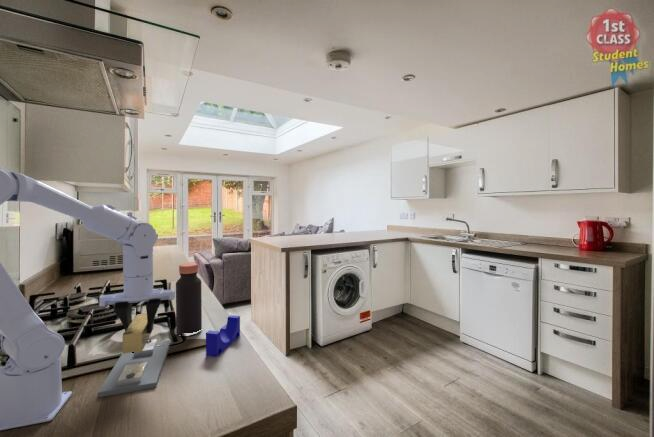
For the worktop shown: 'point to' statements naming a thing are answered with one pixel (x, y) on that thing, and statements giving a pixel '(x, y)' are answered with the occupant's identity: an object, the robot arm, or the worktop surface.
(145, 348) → the mounting blocks
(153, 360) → the slate board
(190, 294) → the bottle
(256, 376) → the worktop surface
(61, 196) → the robot arm
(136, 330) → the link bar
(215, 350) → the cable clip
